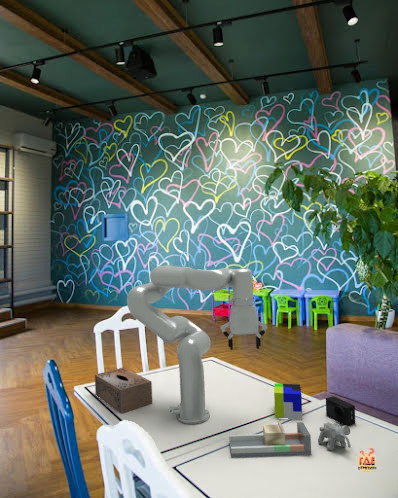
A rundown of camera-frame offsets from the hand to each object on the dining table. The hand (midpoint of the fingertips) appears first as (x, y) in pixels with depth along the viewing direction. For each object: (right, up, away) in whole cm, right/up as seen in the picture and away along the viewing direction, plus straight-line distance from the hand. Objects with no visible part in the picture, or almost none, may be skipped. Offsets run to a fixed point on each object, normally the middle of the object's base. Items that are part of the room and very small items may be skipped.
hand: (244, 348), depth 143 cm
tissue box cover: (-50, -30, +28) cm, 65 cm away
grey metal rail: (+6, -28, -17) cm, 33 cm away
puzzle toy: (+18, -28, +8) cm, 34 cm away
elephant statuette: (+28, -28, -18) cm, 43 cm away
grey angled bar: (+17, -27, -17) cm, 36 cm away
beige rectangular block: (+8, -27, -17) cm, 32 cm away
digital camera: (+35, -27, +1) cm, 45 cm away
